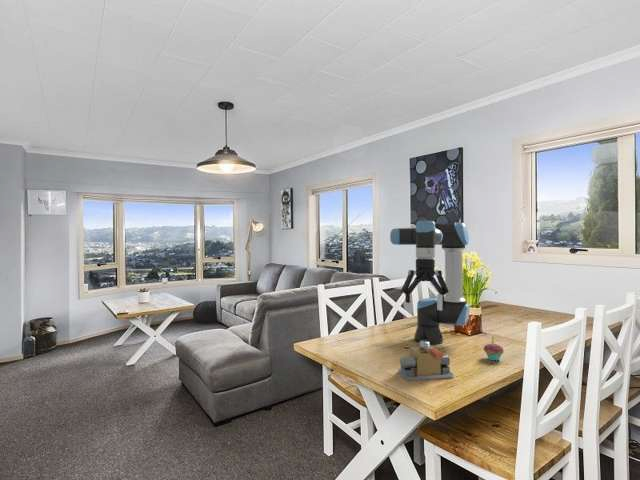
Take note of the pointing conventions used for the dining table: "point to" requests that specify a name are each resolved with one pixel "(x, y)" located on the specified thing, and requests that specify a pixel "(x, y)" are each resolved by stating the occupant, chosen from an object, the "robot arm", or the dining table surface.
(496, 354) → the cupcake
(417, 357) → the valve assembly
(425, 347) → the lever
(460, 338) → the dining table surface
